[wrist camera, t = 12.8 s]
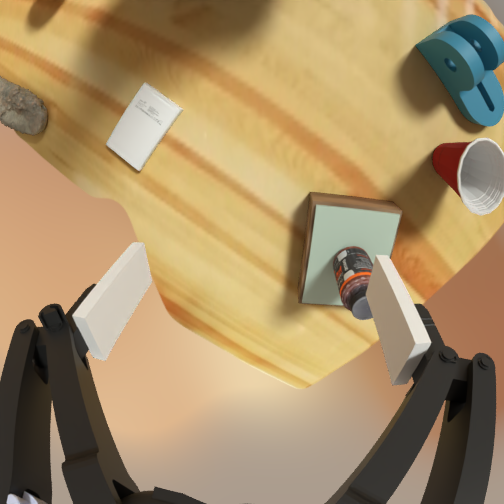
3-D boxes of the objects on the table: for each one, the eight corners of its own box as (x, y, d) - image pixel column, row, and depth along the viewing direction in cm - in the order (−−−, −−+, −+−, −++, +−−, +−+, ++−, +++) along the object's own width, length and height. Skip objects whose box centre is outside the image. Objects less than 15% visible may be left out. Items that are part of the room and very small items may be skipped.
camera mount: (414, 45, 30) (447, 33, 20) (449, 21, 25) (482, 9, 16) (472, 135, 35) (509, 146, 25) (502, 107, 30) (538, 114, 21)
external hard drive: (110, 142, 43) (147, 82, 37) (143, 169, 45) (184, 109, 39) (105, 144, 41) (143, 82, 36) (138, 171, 43) (181, 109, 38)
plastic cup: (478, 163, 36) (519, 183, 26) (441, 201, 41) (478, 230, 30) (447, 114, 34) (491, 122, 23) (408, 154, 38) (445, 172, 28)
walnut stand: (310, 191, 43) (313, 201, 39) (392, 201, 42) (403, 212, 38) (297, 288, 52) (298, 305, 48) (369, 292, 51) (376, 308, 47)
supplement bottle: (328, 250, 42) (340, 296, 32) (365, 239, 41) (388, 282, 31) (336, 281, 45) (347, 330, 35) (371, 272, 43) (390, 318, 33)
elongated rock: (-10, 63, 33) (-19, 98, 38) (-26, 65, 29) (-33, 102, 34) (57, 98, 38) (44, 143, 43) (37, 101, 33) (26, 149, 38)
